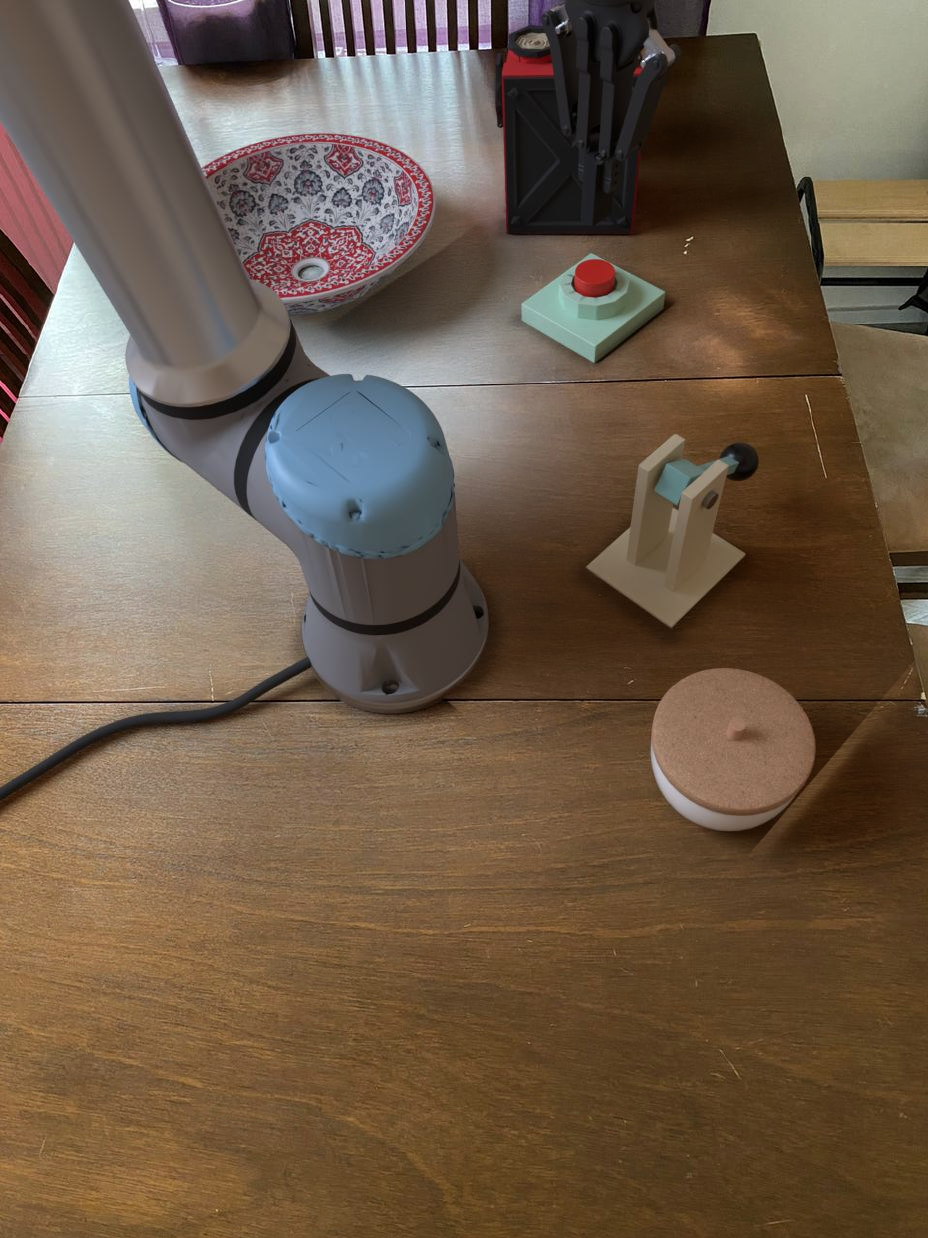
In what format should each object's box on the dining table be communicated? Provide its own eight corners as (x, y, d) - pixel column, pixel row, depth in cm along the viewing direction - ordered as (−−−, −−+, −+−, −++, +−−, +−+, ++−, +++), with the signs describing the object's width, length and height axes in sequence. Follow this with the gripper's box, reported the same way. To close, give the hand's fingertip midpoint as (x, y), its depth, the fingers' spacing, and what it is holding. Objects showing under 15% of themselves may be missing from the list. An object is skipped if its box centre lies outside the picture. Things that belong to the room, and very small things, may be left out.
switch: (723, 466, 83) (739, 432, 81) (754, 484, 82) (771, 451, 80) (646, 492, 74) (663, 455, 72) (679, 513, 72) (697, 476, 71)
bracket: (659, 508, 86) (677, 401, 75) (743, 562, 82) (774, 457, 72) (585, 574, 82) (592, 472, 72) (669, 635, 79) (691, 536, 68)
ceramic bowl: (131, 276, 109) (106, 212, 103) (335, 168, 119) (324, 103, 112) (280, 405, 96) (262, 341, 90) (496, 272, 106) (494, 205, 99)
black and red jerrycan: (636, 185, 113) (654, -1, 97) (636, 238, 108) (655, 50, 91) (502, 185, 115) (497, 2, 98) (495, 237, 109) (488, 52, 93)
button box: (594, 363, 97) (596, 331, 94) (521, 320, 101) (520, 288, 98) (663, 309, 101) (668, 276, 98) (590, 269, 105) (592, 237, 102)
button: (596, 303, 96) (597, 289, 95) (566, 287, 98) (566, 272, 97) (622, 284, 98) (623, 269, 96) (591, 268, 100) (592, 253, 98)
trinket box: (691, 694, 75) (710, 628, 68) (817, 771, 71) (852, 710, 63) (613, 795, 71) (623, 737, 63) (742, 883, 67) (769, 833, 59)
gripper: (719, -66, 71) (676, 225, 90) (583, -109, 76) (570, 174, 96) (654, -30, 68) (624, 263, 87) (517, -77, 73) (518, 208, 93)
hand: (596, 216), depth 91 cm, fingers closed
